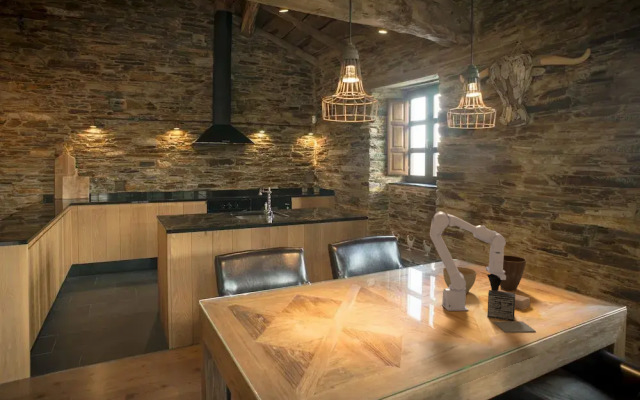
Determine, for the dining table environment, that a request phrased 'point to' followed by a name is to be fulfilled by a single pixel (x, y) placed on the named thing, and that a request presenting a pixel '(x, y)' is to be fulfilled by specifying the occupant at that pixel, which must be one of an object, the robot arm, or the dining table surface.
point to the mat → (514, 326)
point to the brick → (520, 301)
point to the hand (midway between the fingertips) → (494, 291)
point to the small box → (501, 305)
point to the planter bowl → (468, 276)
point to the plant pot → (512, 272)
